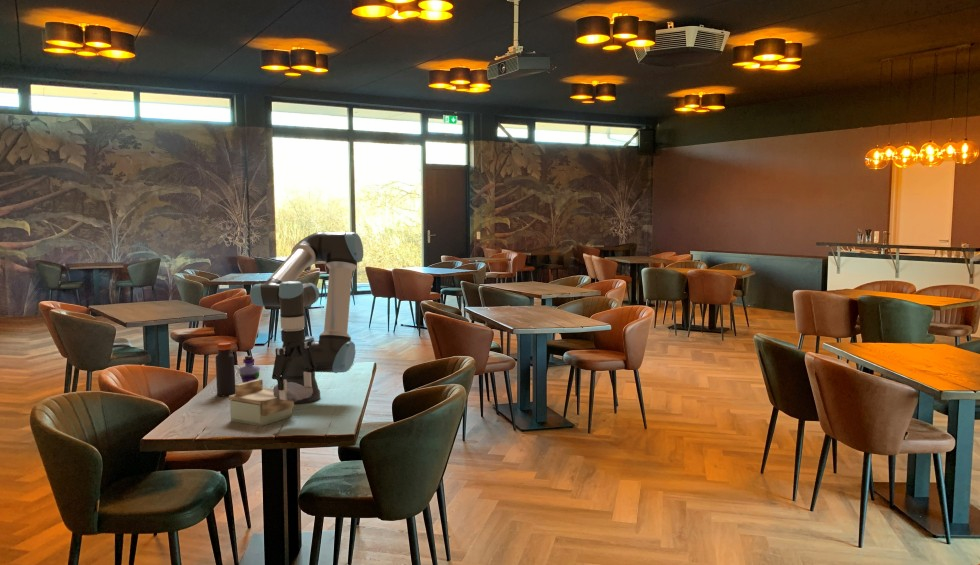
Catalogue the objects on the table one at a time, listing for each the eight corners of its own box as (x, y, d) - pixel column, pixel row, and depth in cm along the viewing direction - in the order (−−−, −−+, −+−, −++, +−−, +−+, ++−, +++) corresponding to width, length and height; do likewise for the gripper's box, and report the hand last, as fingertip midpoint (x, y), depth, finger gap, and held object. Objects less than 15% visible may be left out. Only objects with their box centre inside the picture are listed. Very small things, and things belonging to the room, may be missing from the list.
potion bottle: (258, 386, 291) (257, 357, 290) (236, 387, 289) (235, 358, 288) (262, 382, 299) (261, 353, 298) (240, 382, 298) (239, 354, 297)
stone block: (295, 395, 243) (269, 396, 235) (297, 381, 243) (271, 381, 235) (316, 402, 235) (291, 403, 227) (318, 388, 235) (293, 388, 227)
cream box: (263, 411, 252) (262, 391, 252) (291, 416, 246) (291, 396, 245) (230, 420, 240) (230, 400, 240) (260, 426, 233) (259, 405, 233)
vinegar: (218, 393, 280) (216, 342, 279) (236, 391, 282) (234, 341, 280) (216, 397, 274) (213, 345, 272) (234, 395, 275) (232, 344, 274)
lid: (261, 401, 252) (260, 377, 252) (295, 406, 244) (294, 382, 244) (229, 410, 240) (228, 385, 240) (263, 416, 232) (262, 390, 232)
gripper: (309, 322, 244) (312, 385, 247) (257, 334, 224) (261, 402, 227) (326, 324, 240) (328, 388, 243) (274, 335, 221) (278, 405, 223)
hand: (296, 395), depth 235 cm, fingers closed on stone block, 10 cm apart
